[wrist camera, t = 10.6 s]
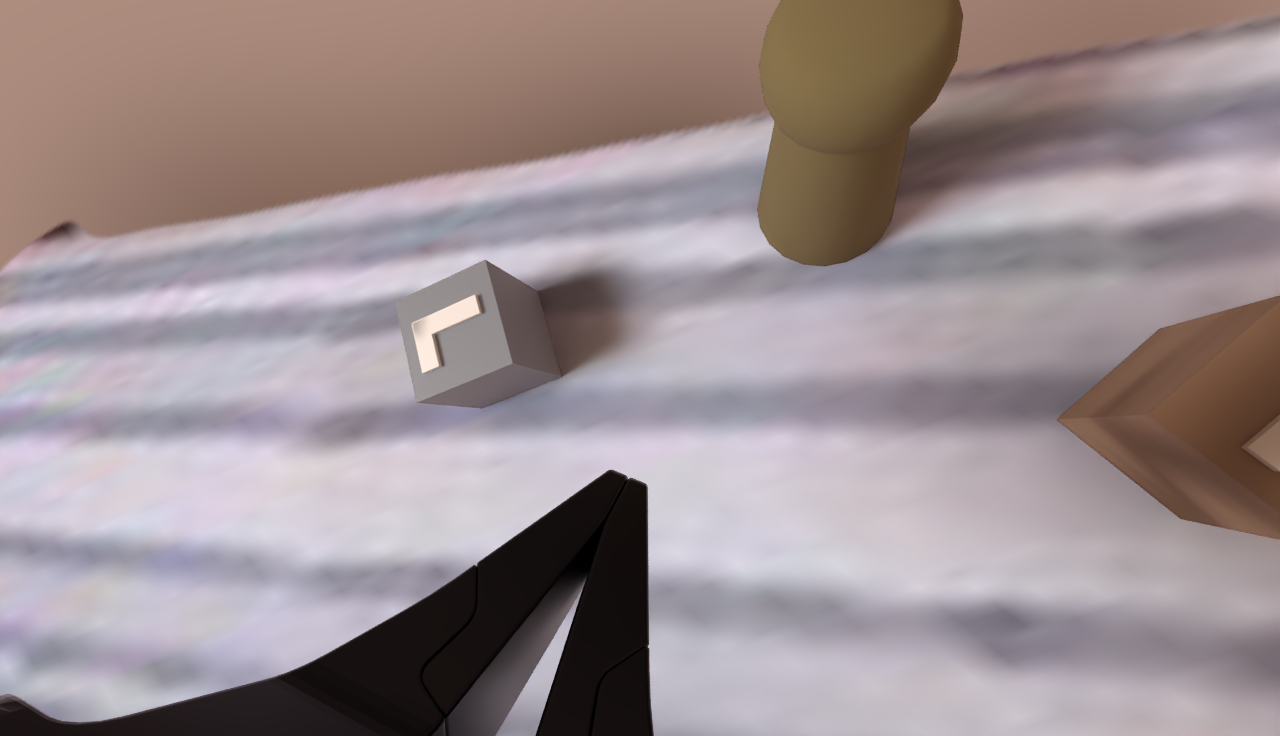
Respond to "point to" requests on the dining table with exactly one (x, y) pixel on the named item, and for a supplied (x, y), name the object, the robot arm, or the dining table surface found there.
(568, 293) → the dining table surface
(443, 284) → the slate marked block
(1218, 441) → the walnut marked block
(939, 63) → the cork
